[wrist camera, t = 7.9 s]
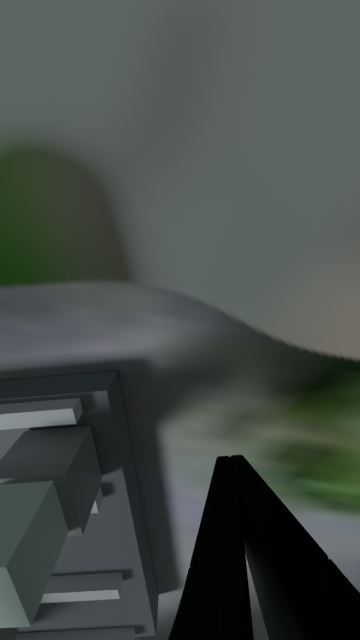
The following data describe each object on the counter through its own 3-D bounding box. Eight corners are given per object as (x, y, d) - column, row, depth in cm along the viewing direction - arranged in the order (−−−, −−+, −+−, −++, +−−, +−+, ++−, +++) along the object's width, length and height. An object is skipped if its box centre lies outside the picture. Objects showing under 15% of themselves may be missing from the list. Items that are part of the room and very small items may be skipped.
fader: (102, 477, 10) (49, 631, 6) (41, 482, 10) (-51, 636, 6) (90, 425, 9) (22, 559, 5) (25, 431, 9) (-90, 565, 5)
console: (158, 595, 14) (154, 654, 12) (-32, 606, 14) (-68, 665, 12) (117, 370, 10) (101, 400, 8) (-142, 392, 10) (-220, 427, 8)
